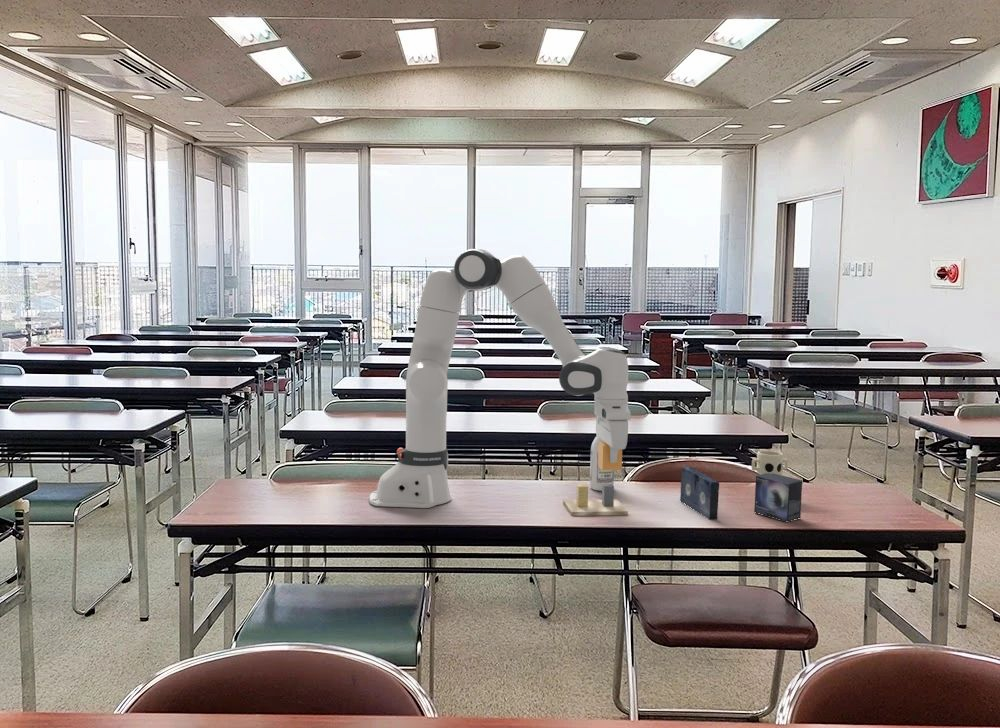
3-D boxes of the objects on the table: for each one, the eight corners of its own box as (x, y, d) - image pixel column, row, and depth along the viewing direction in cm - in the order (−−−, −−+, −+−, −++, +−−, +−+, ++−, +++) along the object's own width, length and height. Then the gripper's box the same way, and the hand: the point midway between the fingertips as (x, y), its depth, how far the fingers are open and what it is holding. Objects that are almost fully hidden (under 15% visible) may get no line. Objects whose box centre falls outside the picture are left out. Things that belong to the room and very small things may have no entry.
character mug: (755, 500, 240) (758, 455, 238) (744, 494, 247) (746, 450, 245) (791, 500, 241) (794, 455, 240) (780, 493, 248) (782, 449, 247)
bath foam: (618, 489, 250) (620, 422, 248) (601, 492, 246) (604, 424, 244) (601, 484, 255) (603, 418, 253) (584, 487, 251) (586, 421, 249)
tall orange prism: (602, 470, 225) (603, 445, 224) (598, 465, 230) (598, 441, 229) (621, 469, 225) (622, 445, 224) (616, 465, 230) (617, 441, 230)
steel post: (603, 506, 227) (604, 486, 226) (601, 504, 230) (602, 484, 229) (613, 506, 227) (614, 486, 227) (611, 503, 230) (611, 484, 229)
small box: (752, 513, 227) (754, 474, 226) (767, 509, 231) (769, 471, 230) (786, 523, 218) (788, 483, 217) (801, 519, 222) (803, 479, 221)
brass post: (578, 507, 226) (578, 486, 226) (576, 504, 229) (576, 484, 228) (587, 506, 226) (588, 486, 226) (585, 504, 229) (586, 484, 228)
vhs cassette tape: (718, 519, 221) (719, 482, 220) (707, 520, 220) (709, 482, 219) (689, 501, 238) (691, 466, 237) (679, 501, 238) (681, 466, 237)
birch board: (571, 515, 221) (571, 511, 221) (563, 503, 233) (563, 499, 233) (627, 514, 223) (627, 511, 223) (616, 502, 235) (616, 499, 235)
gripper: (590, 402, 236) (589, 451, 237) (608, 414, 215) (607, 468, 217) (613, 402, 236) (612, 451, 238) (632, 414, 216) (631, 467, 218)
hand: (609, 459), depth 227 cm, fingers closed on tall orange prism, 5 cm apart
